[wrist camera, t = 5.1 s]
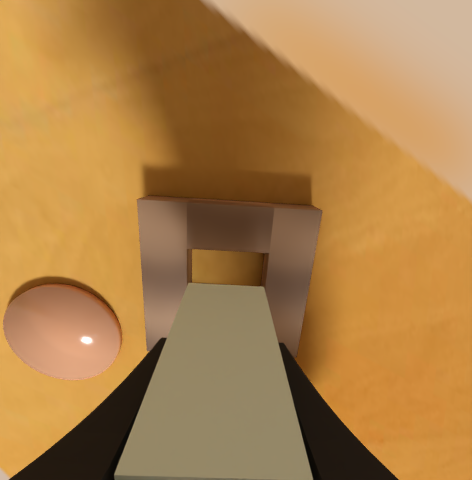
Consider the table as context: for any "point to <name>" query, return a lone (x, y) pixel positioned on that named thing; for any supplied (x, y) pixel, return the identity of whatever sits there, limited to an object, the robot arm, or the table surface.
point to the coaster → (62, 331)
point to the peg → (218, 397)
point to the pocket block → (226, 239)
